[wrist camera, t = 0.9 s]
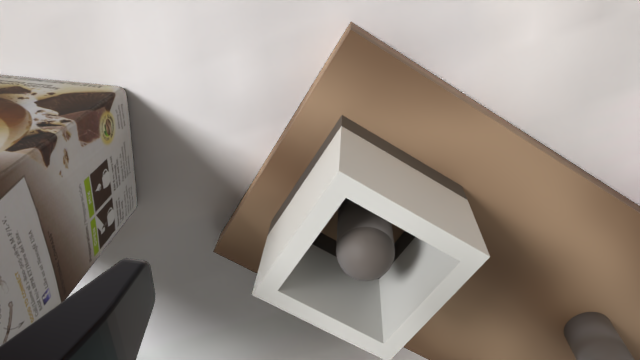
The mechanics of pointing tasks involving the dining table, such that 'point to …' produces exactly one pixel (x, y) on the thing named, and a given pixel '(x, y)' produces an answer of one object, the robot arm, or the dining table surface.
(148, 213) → the dining table surface
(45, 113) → the coffee box
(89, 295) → the robot arm
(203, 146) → the dining table surface
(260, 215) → the pin board
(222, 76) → the dining table surface
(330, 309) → the grey sleeve
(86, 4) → the dining table surface
